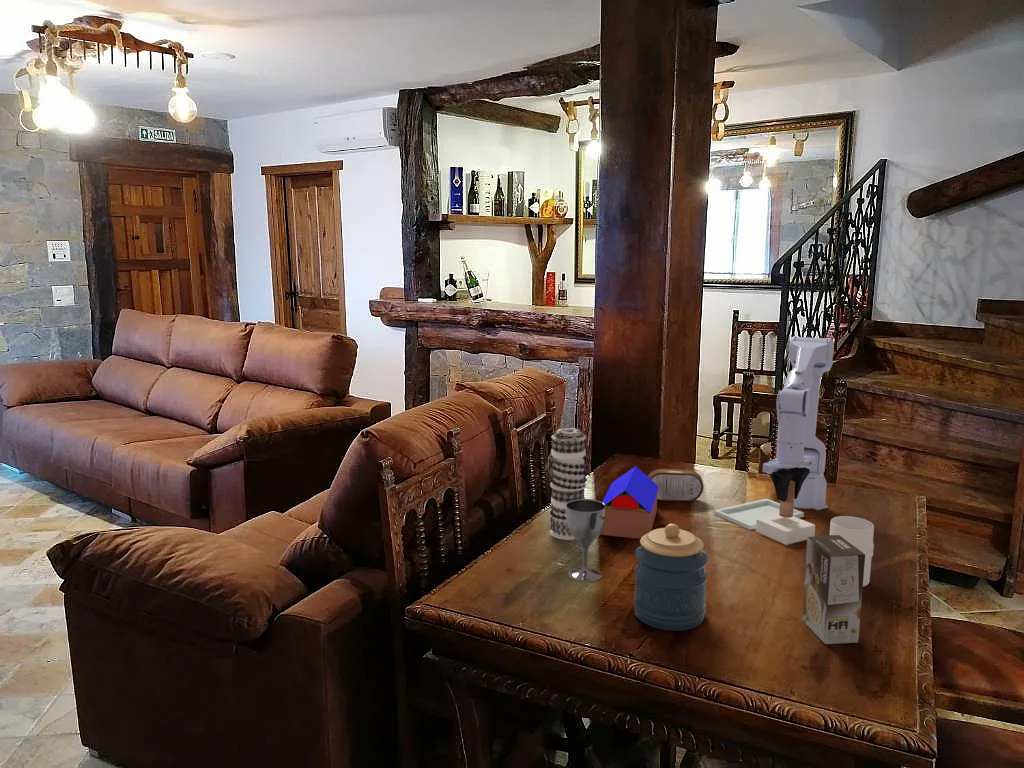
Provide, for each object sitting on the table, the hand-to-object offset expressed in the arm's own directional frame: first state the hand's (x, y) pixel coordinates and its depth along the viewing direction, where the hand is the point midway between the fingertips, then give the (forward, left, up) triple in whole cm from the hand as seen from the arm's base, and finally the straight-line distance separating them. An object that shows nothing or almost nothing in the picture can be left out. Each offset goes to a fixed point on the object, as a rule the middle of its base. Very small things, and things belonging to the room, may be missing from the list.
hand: (787, 499), depth 174 cm
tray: (-4, -12, -10) cm, 16 cm away
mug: (+4, +20, -10) cm, 23 cm away
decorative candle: (+42, -27, -10) cm, 51 cm away
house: (+25, -26, -10) cm, 37 cm away
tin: (+5, -33, -10) cm, 35 cm away
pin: (0, 0, -4) cm, 4 cm away
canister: (+47, +16, -10) cm, 51 cm away
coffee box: (+26, +34, -10) cm, 44 cm away
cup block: (0, 0, -10) cm, 10 cm away
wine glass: (+51, -6, -10) cm, 52 cm away
